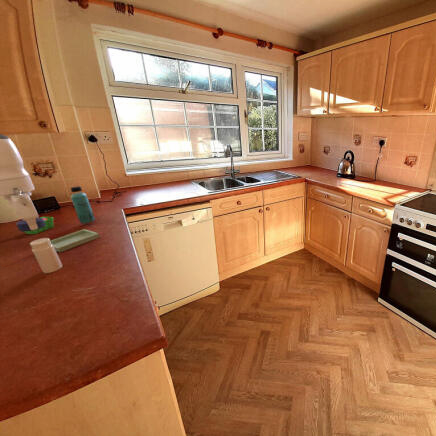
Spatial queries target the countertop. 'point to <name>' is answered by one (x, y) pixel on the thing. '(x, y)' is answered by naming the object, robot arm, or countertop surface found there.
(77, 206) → the beverage bottle
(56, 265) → the jam jar
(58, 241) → the serving tray
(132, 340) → the countertop surface
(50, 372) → the countertop surface
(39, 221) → the jar lid
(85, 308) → the countertop surface
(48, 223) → the fruit basket
